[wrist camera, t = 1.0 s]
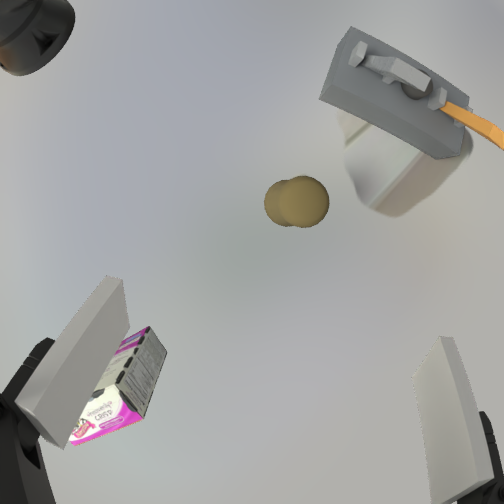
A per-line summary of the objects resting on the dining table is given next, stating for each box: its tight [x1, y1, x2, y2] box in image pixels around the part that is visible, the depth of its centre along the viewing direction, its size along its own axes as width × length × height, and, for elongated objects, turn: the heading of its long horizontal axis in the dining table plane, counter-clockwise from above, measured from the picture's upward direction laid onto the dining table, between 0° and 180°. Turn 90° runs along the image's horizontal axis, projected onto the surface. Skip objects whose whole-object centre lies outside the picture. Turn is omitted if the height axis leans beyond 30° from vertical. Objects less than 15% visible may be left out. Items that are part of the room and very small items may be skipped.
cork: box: [264, 176, 329, 228], centre depth 36 cm, size 6×6×11 cm
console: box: [319, 26, 473, 159], centre depth 36 cm, size 10×20×9 cm, turn 70°
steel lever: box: [360, 55, 431, 92], centre depth 28 cm, size 2×4×14 cm, turn 69°
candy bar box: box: [69, 326, 167, 446], centre depth 35 cm, size 11×5×16 cm, turn 120°
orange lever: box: [439, 101, 504, 150], centre depth 29 cm, size 2×4×14 cm, turn 69°
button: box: [401, 69, 433, 100], centre depth 33 cm, size 4×4×2 cm
